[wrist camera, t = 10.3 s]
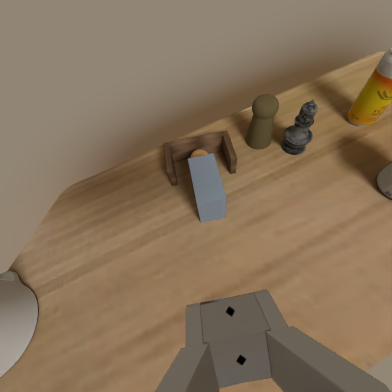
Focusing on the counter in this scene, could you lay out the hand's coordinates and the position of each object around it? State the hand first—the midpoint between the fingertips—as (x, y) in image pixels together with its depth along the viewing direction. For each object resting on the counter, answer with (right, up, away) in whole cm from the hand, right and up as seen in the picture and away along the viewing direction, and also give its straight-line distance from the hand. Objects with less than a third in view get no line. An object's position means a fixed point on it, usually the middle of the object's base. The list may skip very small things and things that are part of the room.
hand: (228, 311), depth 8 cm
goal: (0, +11, +40) cm, 42 cm away
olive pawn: (+14, +18, +43) cm, 48 cm away
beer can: (+38, +23, +43) cm, 62 cm away
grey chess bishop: (+21, +16, +41) cm, 49 cm away
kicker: (+1, +4, +36) cm, 36 cm away
